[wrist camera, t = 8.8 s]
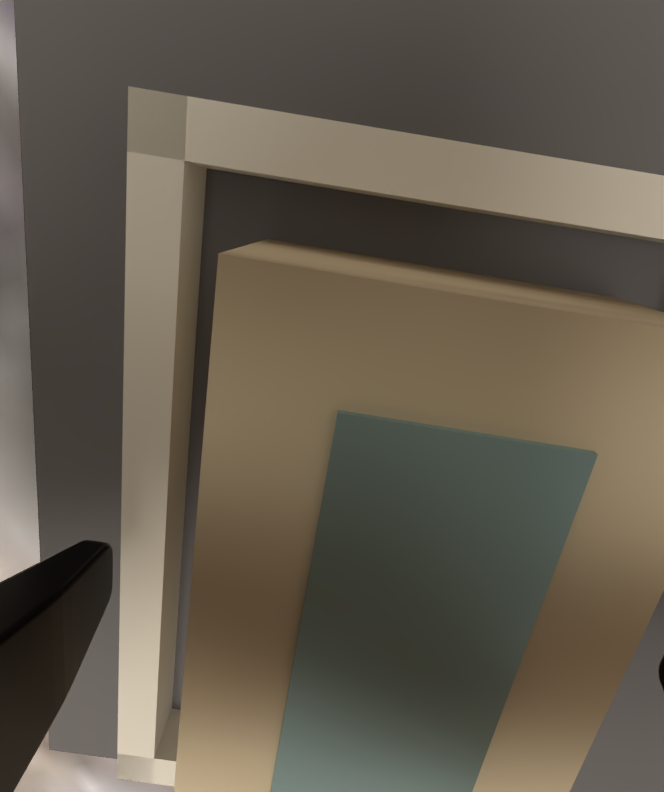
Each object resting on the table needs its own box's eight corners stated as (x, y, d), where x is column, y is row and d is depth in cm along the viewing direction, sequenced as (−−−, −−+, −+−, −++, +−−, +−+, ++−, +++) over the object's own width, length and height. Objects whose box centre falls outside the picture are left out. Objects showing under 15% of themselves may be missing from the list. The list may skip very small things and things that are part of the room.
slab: (469, 717, 12) (517, 914, 9) (218, 681, 12) (166, 866, 9) (615, 297, 9) (785, 349, 5) (268, 238, 9) (216, 254, 5)
